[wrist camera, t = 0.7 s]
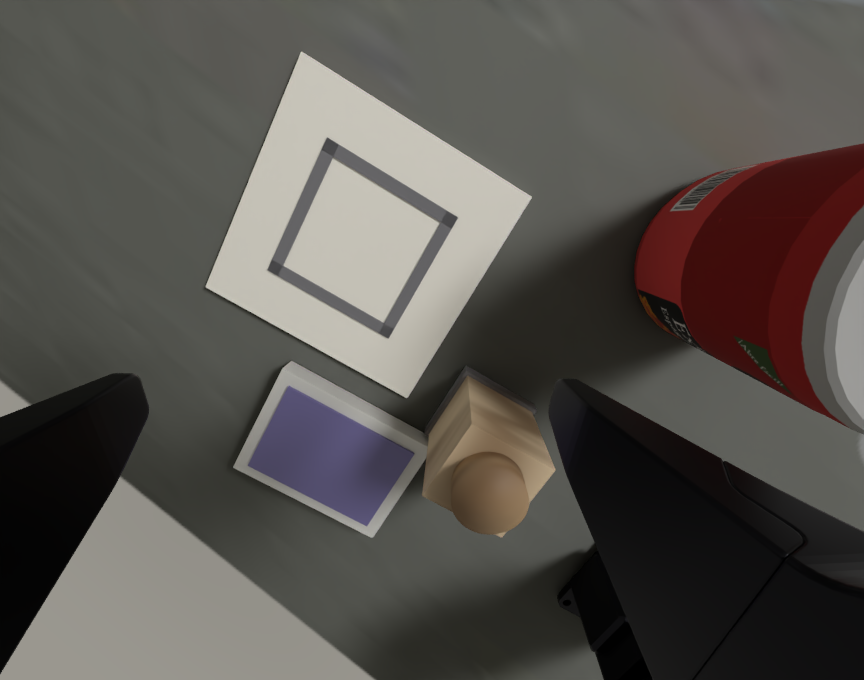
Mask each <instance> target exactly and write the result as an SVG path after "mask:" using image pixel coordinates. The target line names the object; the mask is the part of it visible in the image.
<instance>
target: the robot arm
mask: <svg viewBox="0 0 864 680" xmlns="http://www.w3.org/2000/svg"><path fill="white" fill-rule="evenodd" d="M148 414H149V405H148V402H147V398H146V395H145V392H144V389H143V386H142V382H141V380H140V378H139V377H138V376H137V375H136V374H132V373H114V374H110V375H108V376H105V377H102V378H100V379H97V380H95V381H92V382H90V383H87V384H84V385H82V386H79V387H77V388H74V389H72V390H69V391H67V392H64V393H61V394H59V395H56V396H54V397H51V398H49V399H46V400H43V401H41V402H38V403H36V404H33V405H31V406H28V407H26V408H23V409H20V410H18V411H15V412H13V413H10V414H8V415H5V416H2V417H0V674H1V672H2V670H3V669H4V667H5V665H6V664H7V662H8V661H9V659H10V657H11V656H12V654H13V652H14V651H15V649H16V647H17V646H18V644H19V642H20V641H21V639H22V638H23V636H24V634H25V632H26V630H27V629H28V628H29V626H30V624H31V623H32V621H33V619H34V618H35V616H36V615H37V613H38V611H39V610H40V608H41V606H42V605H43V603H44V602H45V600H46V598H47V597H48V595H49V593H50V591H51V590H52V588H53V587H54V585H55V584H56V582H57V580H58V579H59V577H60V575H61V574H62V572H63V570H64V569H65V567H66V565H67V564H68V562H69V560H70V559H71V557H72V556H73V554H74V552H75V551H76V549H77V547H78V546H79V544H80V542H81V541H82V539H83V538H84V536H85V534H86V533H87V531H88V529H89V528H90V526H91V525H92V523H93V521H94V519H95V518H96V516H97V515H98V513H99V511H100V510H101V508H102V507H103V505H104V503H105V502H106V500H107V498H108V497H109V495H110V493H111V492H112V490H113V488H114V486H115V485H116V483H117V481H118V479H119V477H120V475H121V473H122V471H123V469H124V467H125V465H126V463H127V461H128V459H129V456H130V454H131V452H132V450H133V448H134V446H135V444H136V442H137V439H138V437H139V435H140V433H141V431H142V429H143V427H144V425H145V422H146V420H147V418H148ZM549 419H550V422H551V425H552V429H553V432H554V436H555V439H556V442H557V446H558V449H559V453H560V456H561V459H562V463H563V466H564V469H565V472H566V475H567V477H568V480H569V483H570V485H571V487H572V490H573V492H574V494H575V497H576V499H577V502H578V504H579V506H580V509H581V511H582V513H583V516H584V518H585V520H586V523H587V525H588V528H589V530H590V532H591V535H592V537H593V539H594V542H595V544H596V546H597V549H598V551H597V552H596V553H595V554H594V555H593V556H592V557H591V558H590V560H589V561H588V562H587V563H586V564H585V565H584V566H583V567H582V568H581V570H580V571H579V572H578V573H577V574H576V575H575V576H574V577H573V578H572V579H571V581H570V582H569V583H568V584H567V585H566V586H565V587H564V588H563V589H562V591H561V592H560V593H559V594H558V596H557V599H558V602H559V605H560V607H562V608H563V609H565V610H567V611H569V612H571V613H573V614H575V615H577V616H579V617H581V620H582V624H583V627H584V630H585V633H586V636H587V639H588V642H589V645H590V648H591V650H592V651H593V652H595V654H596V657H597V660H598V663H599V666H600V669H601V672H602V675H603V679H604V680H864V531H861V530H859V529H857V528H855V527H853V526H851V525H849V524H847V523H845V522H843V521H841V520H839V519H837V518H835V517H833V516H831V515H829V514H827V513H825V512H823V511H821V510H819V509H817V508H815V507H813V506H811V505H809V504H807V503H805V502H803V501H801V500H799V499H797V498H795V497H793V496H791V495H789V494H787V493H785V492H783V491H781V490H779V489H777V488H775V487H773V486H771V485H769V484H767V483H765V482H764V481H762V480H760V479H758V478H756V477H754V476H752V475H750V474H749V473H747V472H745V471H743V470H741V469H739V468H737V467H736V466H734V465H732V464H730V463H728V462H727V461H724V462H723V461H722V459H721V458H719V457H717V456H715V455H714V454H712V453H710V452H708V451H706V450H704V449H703V448H701V447H699V446H697V445H695V444H694V443H692V442H690V441H688V440H686V439H684V438H683V437H681V436H679V435H677V434H675V433H673V432H672V431H670V430H668V429H666V428H664V427H662V426H661V425H659V424H657V423H655V422H653V421H652V420H650V419H648V418H646V417H644V416H642V415H641V414H639V413H637V412H635V411H633V410H631V409H630V408H628V407H626V406H624V405H622V404H620V403H619V402H617V401H615V400H613V399H611V398H610V397H608V396H606V395H604V394H602V393H600V392H599V391H597V390H595V389H593V388H591V387H589V386H588V385H586V384H584V383H582V382H580V381H579V380H577V379H558V380H557V381H556V383H555V386H554V389H553V393H552V397H551V401H550V405H549Z"/></svg>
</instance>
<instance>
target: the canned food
mask: <svg viewBox="0 0 864 680" xmlns="http://www.w3.org/2000/svg"><path fill="white" fill-rule="evenodd" d="M634 277H635V285H636V289H637V293H638V296H639V298H640V300H641V302H642V304H643V306H644V308H645V310H646V312H647V314H648V315H649V316H650V317H651V318H652V320H653V321H654V322H655V323H656V324H657V325H658V326H660V327H661V328H662V329H664V330H665V331H666V332H668V333H670V334H671V335H673V336H675V337H677V338H679V339H681V340H683V341H685V342H686V343H688V344H690V345H692V346H694V347H696V348H698V349H700V350H701V351H703V352H705V353H707V354H709V355H711V356H713V357H715V358H716V359H718V360H720V361H722V362H724V363H726V364H728V365H730V366H732V367H733V368H735V369H737V370H739V371H741V372H743V373H745V374H747V375H748V376H750V377H752V378H754V379H756V380H758V381H760V382H762V383H763V384H765V385H767V386H769V387H771V388H773V389H775V390H777V391H778V392H780V393H782V394H784V395H786V396H788V397H790V398H792V399H793V400H795V401H797V402H799V403H801V404H803V405H805V406H807V407H808V408H810V409H812V410H814V411H816V412H819V413H821V414H823V415H825V416H827V417H829V418H831V419H833V420H835V421H837V422H839V423H841V424H842V425H844V426H846V427H848V428H850V429H852V430H855V431H857V432H859V433H862V434H864V144H859V145H853V146H848V147H843V148H838V149H833V150H827V151H822V152H817V153H812V154H807V155H802V156H796V157H791V158H786V159H781V160H776V161H771V162H765V163H760V164H755V165H750V166H745V167H739V168H734V169H730V170H725V171H721V172H716V173H714V174H712V175H709V176H707V177H704V178H702V179H700V180H698V181H696V182H695V183H693V184H691V185H690V186H688V187H687V188H685V189H684V190H682V191H681V192H679V193H678V194H677V195H676V196H674V197H673V198H672V199H671V200H670V201H669V202H668V203H667V204H665V205H664V206H663V207H662V208H661V209H660V211H659V212H658V213H657V214H656V215H655V217H654V218H653V219H652V220H651V222H650V223H649V225H648V227H647V229H646V231H645V232H644V234H643V236H642V238H641V241H640V244H639V247H638V249H637V253H636V259H635V265H634Z"/></svg>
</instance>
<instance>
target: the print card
mask: <svg viewBox="0 0 864 680" xmlns="http://www.w3.org/2000/svg"><path fill="white" fill-rule="evenodd" d="M531 198H532V197H531V196H529V195H528V194H526V193H525V192H523V191H522V190H520V189H518V188H517V187H515V186H514V185H512V184H510V183H509V182H507V181H506V180H504V179H503V178H501V177H499V176H498V175H496V174H495V173H493V172H492V171H490V170H488V169H487V168H485V167H484V166H482V165H480V164H479V163H477V162H476V161H474V160H473V159H471V158H469V157H468V156H466V155H465V154H463V153H461V152H460V151H458V150H457V149H455V148H454V147H452V146H450V145H449V144H447V143H446V142H444V141H442V140H441V139H439V138H438V137H436V136H435V135H433V134H431V133H430V132H428V131H427V130H425V129H423V128H422V127H420V126H419V125H417V124H416V123H414V122H412V121H411V120H409V119H408V118H406V117H404V116H403V115H401V114H400V113H398V112H397V111H395V110H393V109H392V108H390V107H389V106H387V105H385V104H384V103H382V102H381V101H379V100H378V99H376V98H374V97H373V96H371V95H370V94H368V93H366V92H365V91H363V90H362V89H360V88H359V87H357V86H355V85H354V84H352V83H351V82H349V81H347V80H346V79H344V78H343V77H341V76H340V75H338V74H336V73H335V72H333V71H332V70H330V69H328V68H327V67H325V66H324V65H322V64H321V63H319V62H317V61H316V60H314V59H313V58H311V57H309V56H308V55H306V54H305V53H303V52H302V51H301V53H300V56H299V58H298V61H297V63H296V66H295V68H294V71H293V73H292V75H291V78H290V80H289V83H288V85H287V88H286V90H285V93H284V95H283V98H282V100H281V103H280V105H279V107H278V110H277V112H276V115H275V117H274V120H273V122H272V125H271V127H270V130H269V132H268V134H267V137H266V139H265V142H264V144H263V147H262V149H261V152H260V154H259V157H258V159H257V161H256V164H255V166H254V169H253V171H252V174H251V176H250V179H249V181H248V184H247V186H246V188H245V191H244V193H243V196H242V198H241V201H240V203H239V206H238V208H237V211H236V213H235V216H234V218H233V220H232V223H231V225H230V228H229V230H228V233H227V235H226V238H225V240H224V243H223V245H222V247H221V250H220V252H219V255H218V257H217V260H216V262H215V265H214V267H213V270H212V272H211V274H210V277H209V279H208V282H207V284H206V288H208V289H210V290H211V291H213V292H215V293H217V294H219V295H220V296H222V297H224V298H226V299H228V300H229V301H231V302H233V303H235V304H237V305H239V306H240V307H242V308H244V309H246V310H248V311H249V312H251V313H253V314H255V315H257V316H258V317H260V318H262V319H264V320H266V321H268V322H269V323H271V324H273V325H275V326H277V327H278V328H280V329H282V330H284V331H286V332H287V333H289V334H291V335H293V336H295V337H297V338H298V339H300V340H302V341H304V342H306V343H307V344H309V345H311V346H313V347H315V348H316V349H318V350H320V351H322V352H324V353H326V354H327V355H329V356H331V357H333V358H335V359H336V360H338V361H340V362H342V363H344V364H345V365H347V366H349V367H351V368H353V369H355V370H356V371H358V372H360V373H362V374H364V375H365V376H367V377H369V378H371V379H373V380H374V381H376V382H378V383H380V384H382V385H384V386H385V387H387V388H389V389H391V390H393V391H394V392H396V393H398V394H400V395H402V396H403V397H405V398H408V396H409V395H410V393H411V392H412V390H413V388H414V387H415V385H416V384H417V382H418V380H419V379H420V377H421V375H422V374H423V372H424V371H425V369H426V367H427V366H428V364H429V363H430V361H431V359H432V358H433V356H434V354H435V353H436V351H437V350H438V348H439V346H440V345H441V343H442V342H443V340H444V338H445V337H446V335H447V334H448V332H449V330H450V329H451V327H452V325H453V324H454V322H455V321H456V319H457V317H458V316H459V314H460V313H461V311H462V309H463V308H464V306H465V305H466V303H467V301H468V300H469V298H470V296H471V295H472V293H473V292H474V290H475V288H476V287H477V285H478V284H479V282H480V280H481V279H482V277H483V275H484V274H485V272H486V271H487V269H488V267H489V266H490V264H491V263H492V261H493V259H494V258H495V256H496V255H497V253H498V251H499V250H500V248H501V246H502V245H503V243H504V242H505V240H506V238H507V237H508V235H509V234H510V232H511V230H512V229H513V227H514V225H515V224H516V222H517V221H518V219H519V217H520V216H521V214H522V213H523V211H524V209H525V208H526V206H527V205H528V203H529V201H530V200H531Z"/></svg>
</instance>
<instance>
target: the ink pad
mask: <svg viewBox="0 0 864 680" xmlns="http://www.w3.org/2000/svg"><path fill="white" fill-rule="evenodd" d="M428 440H429V437H428V436H426V435H424V433H423V432H421V431H419V430H418V429H416V428H414V427H412V426H410V425H408V424H407V423H405V422H403V421H401V420H399V419H397V418H396V417H394V416H392V415H390V414H388V413H386V412H385V411H383V410H381V409H379V408H377V407H375V406H374V405H372V404H370V403H368V402H366V401H364V400H363V399H361V398H359V397H357V396H355V395H353V394H352V393H350V392H348V391H346V390H344V389H342V388H341V387H339V386H337V385H335V384H333V383H331V382H329V381H328V380H326V379H324V378H322V377H320V376H318V375H317V374H315V373H313V372H311V371H309V370H307V369H306V368H304V367H302V366H300V365H298V364H296V363H295V362H293V361H290V362H289V363H288V364H287V365H286V366H285V367H283V368H282V370H281V372H280V374H279V376H278V378H277V380H276V382H275V384H274V386H273V388H272V390H271V392H270V394H269V396H268V398H267V400H266V402H265V404H264V406H263V408H262V410H261V412H260V414H259V416H258V418H257V420H256V422H255V424H254V426H253V428H252V430H251V432H250V434H249V436H248V438H247V440H246V442H245V444H244V446H243V448H242V450H241V452H240V454H239V456H238V458H237V460H236V462H235V464H234V466H233V468H235V469H237V470H239V471H241V472H243V473H245V474H247V475H249V476H250V477H252V478H254V479H256V480H258V481H260V482H262V483H264V484H266V485H268V486H270V487H272V488H274V489H276V490H278V491H280V492H282V493H284V494H286V495H288V496H290V497H292V498H294V499H296V500H298V501H300V502H302V503H304V504H306V505H308V506H310V507H312V508H314V509H316V510H318V511H320V512H322V513H323V514H325V515H327V516H329V517H331V518H333V519H335V520H337V521H339V522H341V523H343V524H345V525H347V526H349V527H351V528H353V529H355V530H357V531H359V532H361V533H363V534H365V535H367V536H369V537H371V538H373V537H374V535H375V534H376V532H377V531H378V529H379V528H380V526H381V525H382V523H383V522H384V520H385V519H386V517H387V516H388V514H389V513H390V511H391V510H392V508H393V507H394V505H395V504H396V502H397V501H398V499H399V498H400V496H401V495H402V493H403V492H404V490H405V489H406V487H407V486H408V484H409V483H410V482H411V480H412V479H413V477H414V476H415V474H416V473H417V471H418V470H419V468H420V467H421V465H422V464H423V462H424V461H425V459H426V457H427V448H428Z"/></svg>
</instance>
